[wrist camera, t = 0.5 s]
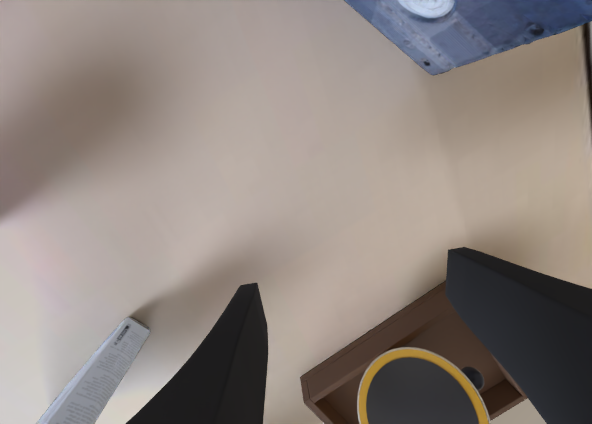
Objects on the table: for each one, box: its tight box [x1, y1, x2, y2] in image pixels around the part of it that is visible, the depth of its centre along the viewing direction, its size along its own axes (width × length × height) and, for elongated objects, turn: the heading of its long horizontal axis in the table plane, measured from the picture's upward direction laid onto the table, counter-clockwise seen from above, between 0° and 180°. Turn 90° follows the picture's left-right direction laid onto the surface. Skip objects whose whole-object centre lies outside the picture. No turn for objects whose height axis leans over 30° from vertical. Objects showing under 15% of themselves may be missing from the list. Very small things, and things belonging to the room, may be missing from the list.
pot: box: [357, 347, 491, 424], centre depth 18 cm, size 8×10×10 cm
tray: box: [300, 281, 528, 424], centre depth 24 cm, size 15×13×2 cm
